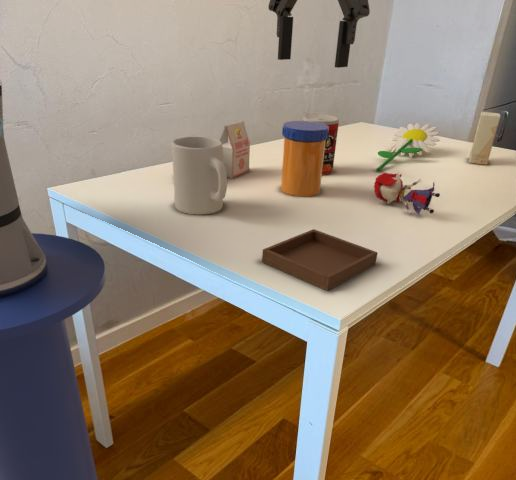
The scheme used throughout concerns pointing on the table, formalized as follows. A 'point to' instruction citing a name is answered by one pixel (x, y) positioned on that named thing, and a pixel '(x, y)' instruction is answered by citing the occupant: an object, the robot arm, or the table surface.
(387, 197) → the figurine
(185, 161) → the mug
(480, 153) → the box
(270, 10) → the robot arm
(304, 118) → the canned food
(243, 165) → the gable top carton
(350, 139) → the table surface
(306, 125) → the jar lid
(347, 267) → the tray
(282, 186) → the honey jar
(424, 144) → the decorative flower
